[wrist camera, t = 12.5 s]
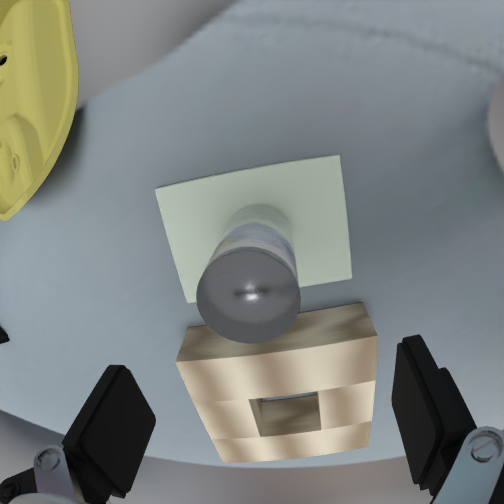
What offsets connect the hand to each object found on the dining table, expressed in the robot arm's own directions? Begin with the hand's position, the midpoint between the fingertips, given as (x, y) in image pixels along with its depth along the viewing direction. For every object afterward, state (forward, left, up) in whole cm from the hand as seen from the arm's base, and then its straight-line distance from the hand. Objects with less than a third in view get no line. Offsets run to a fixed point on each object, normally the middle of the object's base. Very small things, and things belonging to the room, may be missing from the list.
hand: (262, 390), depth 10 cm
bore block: (+1, +16, -17) cm, 23 cm away
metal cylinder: (+1, 0, -16) cm, 16 cm away
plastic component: (+19, -17, -17) cm, 30 cm away
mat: (+1, 0, -17) cm, 17 cm away
